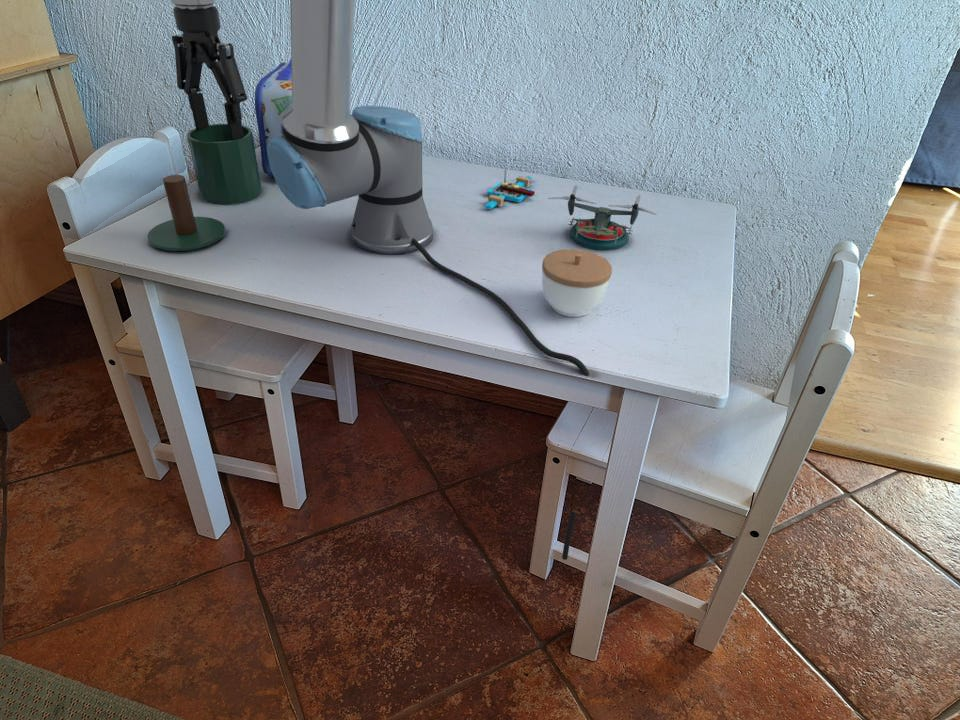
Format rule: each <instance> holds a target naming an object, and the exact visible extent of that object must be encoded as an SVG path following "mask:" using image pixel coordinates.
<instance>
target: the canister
mask: <svg viewBox="0 0 960 720" xmlns="http://www.w3.org/2000/svg"><path fill="white" fill-rule="evenodd" d="M242 129H243V134H244V136H243V137H240V138H237V139H234V140H232V139H230V134H229V129H228V123H213V124H209V127H207V128H204V129H200V130H197V129H196V127H195V128H193V129H191V130H189V131H188V132H187V133H186V138H187V143H188V146H189V147H188V148H189V151H190V155H191V156H190V157H191V161H192V164H193V169H194V174H195V178H196V183H197V185H198V186H197V187H198V191H199V196H200V198H201V199H202V200H203V201H205V202H207V203H210V204H213V205H214V204H215V205H237V204H243V203H246V202H250V201H252V200H255V199H256V198H258V197H259V196H260V195H261V194H262V182H261V177H260V176H261V175H260V172H259V166H258V160H257V154H256V153H257V152H256V148H255V147H256V146H255V139H254V135H253V134H254V133H253V131H252V129H251V127H248V126H245V125H242Z"/></svg>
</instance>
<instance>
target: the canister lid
mask: <svg viewBox="0 0 960 720" xmlns="http://www.w3.org/2000/svg"><path fill="white" fill-rule="evenodd" d="M162 183H163V187H164V191H165V195H166V198H167V202H168V206H169V210H170V214H171V218H172V219H170V220H166V221H164V222H161V223H159V224H157V225H155V226H154V227H152V228H151V229H150V230H149V231H148V233H147V240H148V243H149V244H150V245H151V246H152V247H154V248H157V249H159V250H164V251H171V252H172V251H175V252H176V251H177V252H179V251H191V250H196V249H202V248H205V247H207V246H210V245H213V244H215V243H217V242H218V241H220V240H221V239H222V238H223V237H224V235H225V234H226V226H225V225H224V223H223V222H222V221H220V220H218V219H216V218H213V217H209V216H208V217H207V216H195V214H194V210H193V205H192V202H191V197H190V193H189V189H188V184H187V181H186V177H185V176H184V175H182V174H171V175H166V176H164V177H163V178H162Z"/></svg>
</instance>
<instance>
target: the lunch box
mask: <svg viewBox="0 0 960 720" xmlns="http://www.w3.org/2000/svg"><path fill="white" fill-rule="evenodd" d="M291 108H292V73H291V58H290V59H289V61H286V62H284V61H283V62H281V63H279V64H278V65H277V66H276V67H275V68H274V69H273V70H271V71H270V72H268V73H267V74H266V75H264V76H263V77H262V78H261V79H259V80H258V82H257V84H256V86H255V91H254V111H255V112H254V113H255V119H256V124H257V131H258V140H259V147H260V158H261V159H260V160H261V167H262V170H263V173H264V174H265V175H266V176H268V177H271V176H273V173H272V171H271V168H270V165H269V161H268V155H267V147H268V143H269V142H270V141H271V139H273V138H274V137H275V136H280V137H281V136H282V117H283V115H284V114H285V113H286V112H287V111H288V110H290V109H291Z"/></svg>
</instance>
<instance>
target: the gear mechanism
mask: <svg viewBox="0 0 960 720" xmlns="http://www.w3.org/2000/svg"><path fill="white" fill-rule="evenodd" d="M532 180H533V177H532V176H530V175H528V176H526V177H524V176H521V175H518V176H517V177H516V179H515V184H514V183H513V182H507V168H506V169H504V175H503V181H502V182H499V183H496V184H495V185H494V186H493V187H491V188H490V189H488V190H487V195H489V196H488V203H486V204H485V209H488V210H492V209H493V208H494V207H500V208H501V207H503V206H504V200H507V201H510V202H515V203H520V202H522V201H523V200H524V199H526V198H527V197H533V196H534V195H535V192H536V191H534V190H532V188H529V187H530V186H531V181H532Z"/></svg>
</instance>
